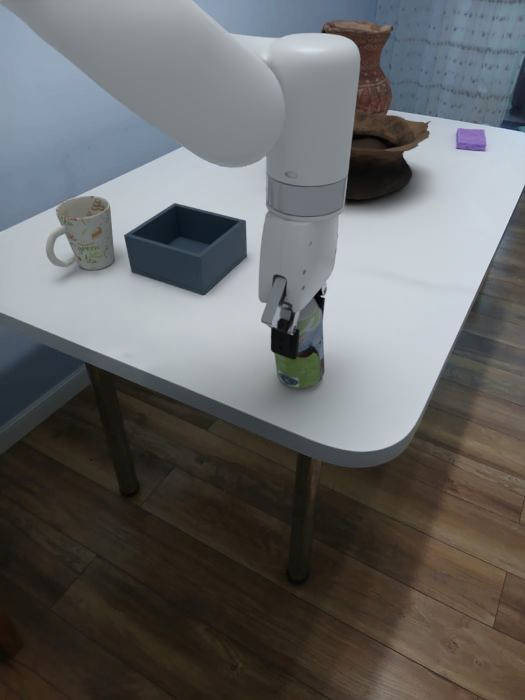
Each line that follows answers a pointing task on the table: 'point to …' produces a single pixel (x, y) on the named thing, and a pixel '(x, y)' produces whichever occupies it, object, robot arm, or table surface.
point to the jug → (367, 62)
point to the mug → (84, 232)
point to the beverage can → (304, 349)
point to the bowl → (381, 154)
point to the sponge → (471, 139)
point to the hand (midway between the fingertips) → (297, 336)
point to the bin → (187, 247)
